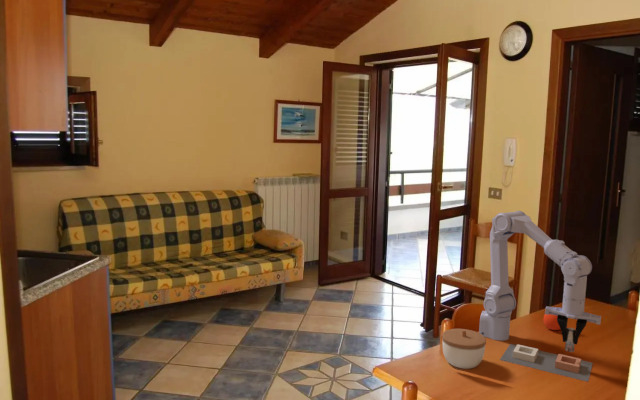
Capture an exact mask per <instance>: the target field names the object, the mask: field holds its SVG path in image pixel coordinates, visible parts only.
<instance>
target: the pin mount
mask: <svg viewBox="0 0 640 400" xmlns="http://www.w3.org/2000/svg"><path fill="white" fill-rule="evenodd" d="M516 345H517V346H516V347H515V349H514V351H513V358H517V359H521V360H525V361H529V362H533V363H534V362H535V360H536V358H537V356H538V350H539V348H536V347H532V346H531V347H530V346H526V345H522V344H519V343H518V344H516Z"/></svg>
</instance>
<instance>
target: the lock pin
mask: <svg viewBox="0 0 640 400" xmlns="http://www.w3.org/2000/svg"><path fill="white" fill-rule="evenodd" d="M575 335H576V328H573V327H567V331H566V342H564V343H565V346H564V351H566V352H569V353H574V352H575V345H576V344H574V340H575Z"/></svg>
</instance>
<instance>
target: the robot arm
mask: <svg viewBox="0 0 640 400" xmlns="http://www.w3.org/2000/svg"><path fill="white" fill-rule="evenodd" d="M491 220H492V221H491V222H492V223H491V224H492V226H491V228H490V231H489V249H490V250H489V253H490V256H489V257H490V283H491V284H490V286H489V287H488V288H487V290H486V291H485V297H484V300H483V308H484V310H482V311H481V314H480V318H479V325H478V326H479V327H478V328H479V329H478V333H480V334H482V335H483V336H484V337H485V338H486V339H487V338H488V339H490V340H494V341H499V342H500V341H508V340H509V339H510V328H511V315H512V314H513V310H515V309H516V308H517V300H516V298H515V294H514V289H513V288H511V287H510V284H509V253H508V250H509V249H508V239H509V238H511V237H512V236H513V235H514V234H515V233H516V234H517V233H518V234H524V235H526V236H527V237H528V238H530V239H531V240H533V242H535V243H537V245H539V246H540V247H541V248H543V253H544V255H546V256H547V257H548V258H549V259H550V260H552V261H553V262H554V263H555V264H557V265H558V267H560V270H561V272H562V273H561V274H563V281H564V282H563V294H562V305H561V306H562V307H556V306H547V305H546V306H545V311H544V315H545V314H547V315H549V314H551V315H556V316H558V317H557V322H558V324H559V326H560V329H559V330H560V332H561V336H562V342H563V343H566V331H567V328H568V321H569V319H572V320H576V322H575V330H576V333H575V340H574V344H575V345H578V341H579V337H580V335H581V333H582V332H583V331H584V329H585V327H586V326H587V323H588V322H589V323H593V324H596V325H598V326H599V325H601V321H602V320H601V319H602V315H597V314H593V313H589V312H586V311H585V303H586V292H587V282H588V281H587V280H588V278H587V277H588V275H590V274H591V272H592V270H593V265H592V262H591V261H590V259H589V258H588V257H587V256H585V255H581V254H580V255H579V254H578V253H577V252H576V251H573V250H572V249H571V248H569V247H568V246H567V245H566V244H565V241H564V240H559V239H552V238H551V237H550V236H548V234H546V233H545V232H544V231H543V230H542V229H541V228H540V227H539V226H538V225H537V224H536V223H535V222H534V221H532V218H531V216H529V215H527V214H526V213H525V212H524V211H521V210H515V211H507V212H499V213H497V214H496V215H495V216H494V217H492V219H491Z"/></svg>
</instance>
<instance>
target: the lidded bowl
mask: <svg viewBox="0 0 640 400" xmlns="http://www.w3.org/2000/svg"><path fill="white" fill-rule="evenodd" d="M482 334H483V333H482ZM482 334H480V333H479V331H475V330H471V329H467V328H450V329H447V330H445V331H443V332H442V334H441V335H442V336H441V339H442V343H441V345H442V353H443V356H444V358H445V360H446V362H448V363H449V365H451V366H453V367H454V370H458V371H461V370H462V371H463V372H464V371H465V370H467V369H468V370H469V369H473V368H476V367H477V366H479V365H480V363H482V361H483V358H484V357H485V351H486V345H487V338H486V337H484V336H483V335H482ZM464 369H465V370H464Z"/></svg>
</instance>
